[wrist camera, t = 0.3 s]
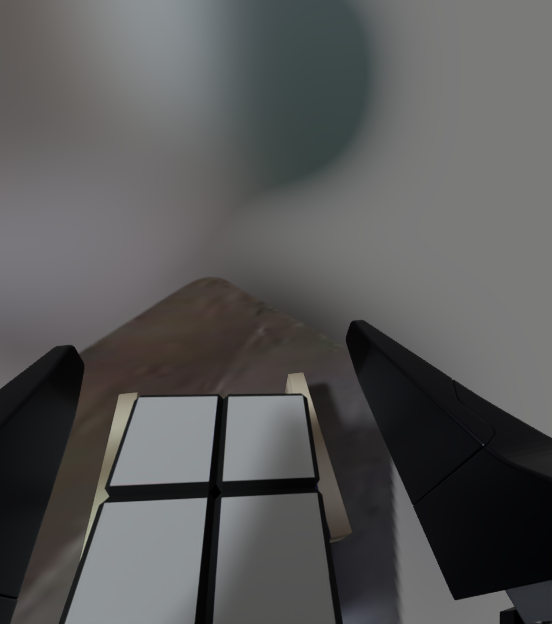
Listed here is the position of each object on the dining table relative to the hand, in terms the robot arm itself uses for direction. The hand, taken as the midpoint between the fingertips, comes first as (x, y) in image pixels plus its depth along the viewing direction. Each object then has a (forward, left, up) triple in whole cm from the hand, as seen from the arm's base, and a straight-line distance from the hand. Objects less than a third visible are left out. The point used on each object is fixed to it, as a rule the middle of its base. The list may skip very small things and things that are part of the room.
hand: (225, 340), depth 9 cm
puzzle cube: (-2, +1, -18) cm, 18 cm away
